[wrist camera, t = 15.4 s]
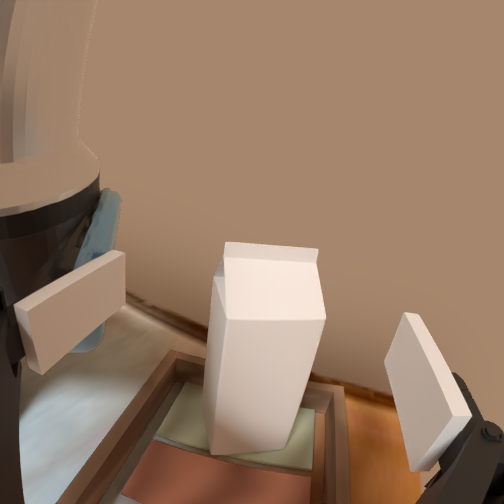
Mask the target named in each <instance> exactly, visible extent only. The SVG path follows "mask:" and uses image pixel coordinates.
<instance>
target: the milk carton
mask: <svg viewBox="0 0 504 504" xmlns="http://www.w3.org/2000/svg"><path fill="white" fill-rule="evenodd" d="M317 256H318V249H312V248H301V247H288V246H276V245H264V244H251V243H237V242H225V249H224V256H223V258H222V260H221V263H220V264H219V267H218V269H217V271H216V273H215V275H214V279H213V288H212V298H211V307H210V318H209V327H208V338H207V348H206V360H205V371H204V383H203V396H202V408H203V414H204V420H205V426H206V431H207V437H208V442H209V448H210V453H211V455H230V454H244V453H255V452H265V451H273V450H281V449H284V448H285V446H286V443H287V440H288V438H289V435H290V432H291V429H292V427H293V424H294V421H295V418H296V415H297V412H298V409H299V406H300V403H301V400H302V397H303V394H304V391H305V388H306V385H307V382H308V378H309V375H310V372H311V369H312V365H313V362H314V359H315V355H316V352H317V349H318V345H319V341H320V338H321V334H322V331H323V327H324V324H325V320H326V313H325V307H324V302H323V296H322V291H321V286H320V280H319V276H318V270H317V265H316V261H317Z"/></svg>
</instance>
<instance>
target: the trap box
mask: <svg viewBox="0 0 504 504" xmlns="http://www.w3.org/2000/svg"><path fill="white" fill-rule="evenodd" d="M205 360H206V359H203V358H199V357H195V356H192V355H188V354H184V353H181V352H177V351H174V350H170V351H169V352H168V353H167V355H166V356H165V357H164V359H163V360H162V361H161V363H160V364H159V365H158V367H157V368H156V369H155V371H154V372H153V373H152V375H151V376H150V377H149V379H148V380H147V381H146V383H145V384H144V385H143V387H142V388H141V389H140V391H139V392H138V393H137V395H136V396H135V397H134V399H133V400H132V401H131V403H130V404H129V405H128V407H127V408H126V409H125V411H124V412H123V413H122V415H121V416H120V417H119V419H118V420H117V421H116V423H115V424H114V425H113V427H112V428H111V429H110V431H109V432H108V433H107V435H106V436H105V437H104V439H103V440H102V442H101V443H100V444H99V446H98V447H97V448H96V450H95V451H94V452H93V454H92V455H91V456H90V458H89V459H88V460H87V462H86V463H85V464H84V466H83V467H82V468H81V470H80V471H79V472H78V474H77V475H76V477H75V478H74V479H73V481H72V482H71V483H70V485H69V486H68V487H67V489H66V490H65V491H64V493H63V494H62V495H61V497H60V498H59V500H58V501H57V502H56V504H98V503H99V501H100V500H101V498H102V497H103V495H104V493H105V492H106V490H107V489H108V487H109V486H110V484H111V482H112V481H113V479H114V478H115V476H116V475H117V473H118V471H119V470H120V468H121V467H122V465H123V464H124V462H125V460H126V459H127V457H128V456H129V454H130V453H131V451H132V449H133V448H134V446H135V445H136V443H137V442H138V440H139V438H140V437H141V435H142V434H143V432H144V430H145V429H146V427H147V426H148V424H149V423H150V421H151V419H152V418H153V416H154V415H155V413H156V411H157V410H158V408H159V407H160V405H161V404H162V402H163V400H164V399H165V397H166V396H167V394H168V392H169V391H170V389H171V388H172V386H173V385H174V383H175V381H177V382H181V383H184V386H183V388H182V390H181V391H180V393H179V395H178V396H177V398H176V400H175V402H174V403H173V405H172V407H171V408H170V410H169V412H168V413H167V415H166V417H165V419H164V420H163V422H162V424H161V425H160V427H159V429H158V430H157V432H156V435H158V436H161V437H164V438H167V439H170V440H173V441H176V442H179V443H182V444H185V445H188V446H192V447H195V448H199V449H202V450H206V451H209V452H210V448H209V442H208V437H207V431H206V426H205V420H204V414H203V408H202V396H203V383H204V371H205ZM315 412H317V413H324V414H325V463H324V493H323V504H351V496H350V468H349V449H348V434H347V420H346V408H345V397H344V386H337V385H330V384H323V383H317V382H311V381H308V382H307V385H306V388H305V391H304V394H303V397H302V400H301V403H300V406H299V409H298V412H297V415H296V418H295V421H294V424H293V427H292V429H291V432H290V435H289V438H288V440H287V443H286V446H285V448H284V449H281V450H273V451H265V452H255V453H244V454H230V455H225V456H229V457H233V458H237V459H242V460H246V461H251V462H256V463H261V464H267V465H272V466H278V467H284V468H290V469H297V470H305V471H311V470H312V462H313V444H314V421H315ZM311 478H312V477H307V476H299V475H292V474H285V473H279V472H273V471H267V470H262V469H257V468H252V467H247V466H242V465H238V464H234V463H229V462H225V461H221V460H217V459H213V458H210V457H206V456H202V455H199V454H195V453H192V452H189V451H185V450H182V449H179V448H176V447H173V446H170V445H167V444H164V443H161V442H158V441H155V440H153V439H152V441H151V442H150V444H149V446H148V447H147V449H146V451H145V452H144V454H143V456H142V458H141V459H140V461H139V463H138V464H137V466H136V468H135V469H134V471H133V473H132V474H131V476H130V478H129V479H128V481H127V483H126V484H125V486H124V488H123V490H122V491H121V494H122V495H124V496H126V497H129V498H131V499H134V500H136V501H138V502H141V503H143V504H310V492H311Z"/></svg>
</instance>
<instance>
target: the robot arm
mask: <svg viewBox="0 0 504 504" xmlns="http://www.w3.org/2000/svg"><path fill="white" fill-rule="evenodd" d="M97 3H98V0H0V504H25V503H24V496H23V488H22V478H21V466H20V449H19V401H20V383H21V370H22V366H21V362H20V359H21V358H23V357H24V356H26V360H27V363H28V366H29V368H30V369H32V370H33V371H35V372H37V373H39V374H40V375H43V374H45V373H46V372H47V371H48V370H49V369H50V368H51V367H52V366H53V365H55V364H56V363H57V362H58V361H59V360H60V359H61V358H62V357H64V356H65V355H66V354H67V353H86V352H90V351H92V350H93V349H95V348H96V347H97V346H98V345H99V344H100V342H101V340H102V338H103V335H104V330H105V322H106V319H108V318H109V317H110V316H111V315H112V314H114V313H115V312H116V311H117V310H118V309H119V308H121V307H122V306H123V305H124V304H125V253H124V252H120V251H115V244H116V238H117V231H118V224H119V218H120V207H121V202H122V199H121V196H120V195H119V194H118V193H117V192H113V191H111V190H110V189H109V188H104V190H101V191H100V188H99V173H100V166H99V159H98V158H97V157H96V156H95V155H94V154H93V153H92V152H91V151H90V150H89V149H88V148H87V146H86V145H85V144H83V142H82V141H81V140H80V138H79V135H78V127H79V114H80V103H81V92H82V85H83V77H84V70H85V63H86V56H87V51H88V45H89V40H90V34H91V29H92V25H93V20H94V16H95V11H96V7H97ZM384 363H385V367H386V370H387V374H388V378H389V381H390V385H391V388H392V393H393V396H394V400H395V404H396V408H397V412H398V416H399V421H400V425H401V429H402V434H403V438H404V443H405V447H406V452H407V457H408V462H409V467H410V472H420V471H430V470H431V468H432V467H433V466H434V465H435V464H436V463H437V461H439V465H440V468H441V469H440V470H439V471H438V472H437V474H436V475H435V476H434V477H433V478H432V479H431V480H430V481H429V482H428V483H427V484H426V485H425V487H426V490H425V491H424V492H423V494H422V495H421V497H420V498H419V500H418V501H417V502H416V504H504V433H503V431H502V430H501V429H500V427H499V426H497V425H496V424H494V423H492V422H490V421H484V419H483V417H482V415H481V413H480V411H479V409H478V407H477V405H476V403H475V401H474V399H473V398H472V396H471V393H470V392H469V391H468V388H467V386H466V384H465V382H464V380H462V378H460V377H459V376H458V375H457V374H456V373H453V372H450V369H449V368H448V366H447V364H446V362H445V360H444V358H443V357H442V355H441V353H440V351H439V349H438V347H437V345H436V344H435V342H434V340H433V338H432V337H431V335H430V333H429V331H428V330H427V328H426V326H425V324H424V323H423V321H422V319H421V318H420V316H419V315H418V314H413V313H407V312H404V313H403V316H402V319H401V321H400V324H399V327H398V329H397V332H396V334H395V337H394V339H393V342H392V344H391V347H390V349H389V351H388V354H387V356H386V358H385V361H384Z"/></svg>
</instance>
